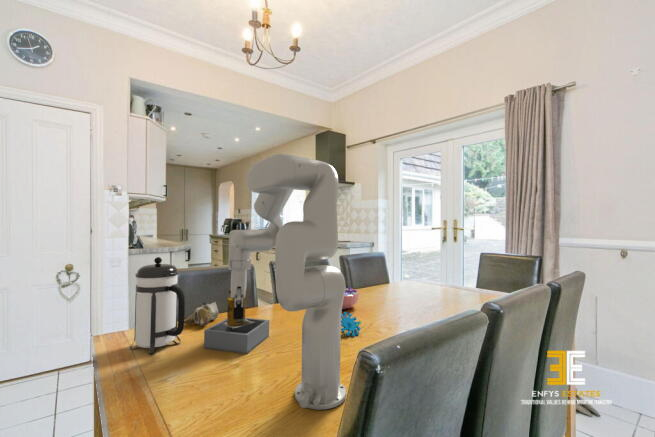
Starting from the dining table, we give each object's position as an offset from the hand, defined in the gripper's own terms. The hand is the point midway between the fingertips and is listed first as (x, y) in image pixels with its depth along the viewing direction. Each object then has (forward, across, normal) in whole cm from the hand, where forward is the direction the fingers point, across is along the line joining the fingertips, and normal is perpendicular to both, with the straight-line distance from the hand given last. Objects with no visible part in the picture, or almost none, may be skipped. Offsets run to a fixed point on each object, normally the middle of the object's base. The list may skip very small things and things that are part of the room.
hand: (238, 315), depth 107 cm
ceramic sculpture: (+10, -24, -14) cm, 30 cm away
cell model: (+10, -34, +50) cm, 61 cm away
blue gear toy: (+10, +1, +41) cm, 43 cm away
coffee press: (+10, -2, -25) cm, 27 cm away
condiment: (+3, 0, 0) cm, 3 cm away
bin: (+9, 0, 0) cm, 9 cm away
